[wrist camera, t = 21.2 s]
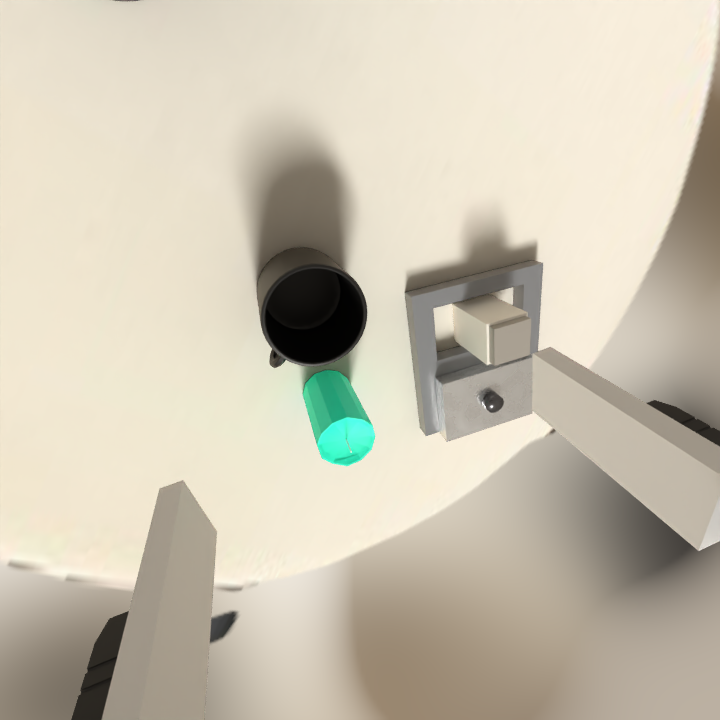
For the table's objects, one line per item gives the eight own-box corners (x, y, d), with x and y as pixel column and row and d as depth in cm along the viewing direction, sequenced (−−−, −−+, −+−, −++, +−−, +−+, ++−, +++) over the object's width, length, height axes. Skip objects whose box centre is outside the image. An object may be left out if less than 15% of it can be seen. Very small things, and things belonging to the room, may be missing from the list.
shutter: (435, 377, 48) (447, 389, 45) (525, 350, 50) (541, 360, 48) (439, 433, 52) (450, 447, 49) (522, 406, 54) (538, 418, 52)
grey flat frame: (404, 292, 44) (411, 296, 43) (532, 259, 47) (543, 263, 46) (420, 427, 54) (426, 436, 52) (525, 393, 57) (534, 400, 55)
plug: (454, 340, 49) (492, 369, 42) (452, 304, 47) (491, 327, 39) (489, 330, 50) (532, 356, 43) (488, 294, 48) (533, 315, 40)
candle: (317, 362, 45) (339, 417, 35) (359, 379, 48) (392, 436, 37) (294, 403, 47) (309, 468, 36) (336, 418, 49) (361, 482, 39)
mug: (228, 327, 41) (225, 363, 33) (285, 228, 38) (297, 240, 30) (304, 364, 45) (317, 403, 37) (360, 277, 42) (387, 299, 34)
